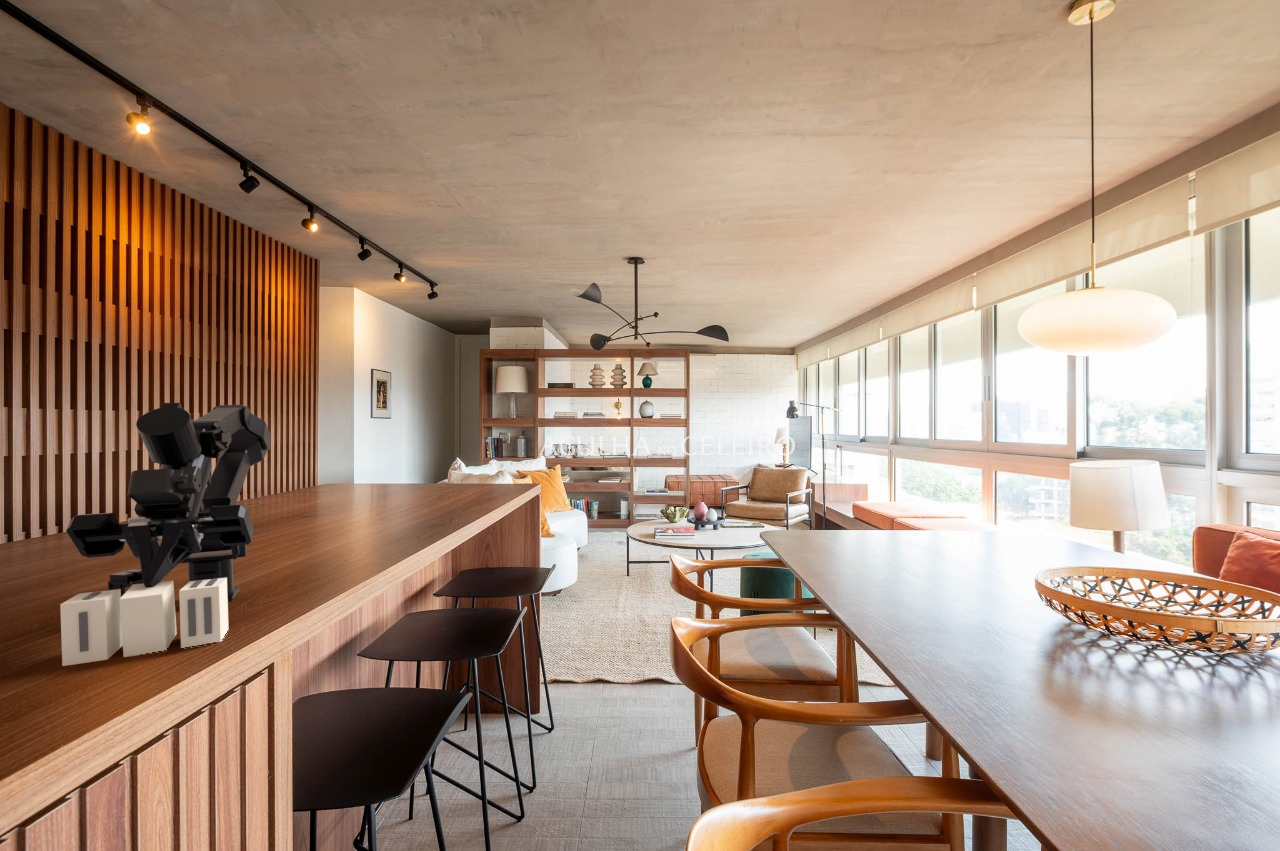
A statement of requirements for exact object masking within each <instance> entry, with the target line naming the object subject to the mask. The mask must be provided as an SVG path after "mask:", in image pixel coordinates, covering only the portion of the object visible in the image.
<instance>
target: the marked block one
mask: <svg viewBox="0 0 1280 851" xmlns="http://www.w3.org/2000/svg"><path fill="white" fill-rule="evenodd" d="M120 598H121V589H117V590H108V589H107V590H99V591H90V592H82V593H77V594H75V595H73V596H71V598H69V599H67V600H66V601H64V602H62V603H61V604H60V605H59V606H60V630H61V631H60V634H61V635H60V636H61V666H62V667H65V666H73V665H78V664H87V663H91V662H93V663H94V662H99V661H106V660H109V659H110V658H111V657H112V656H113V655H114V654H115V653H116V652H118V650H120V649H121V648H123V640H122V627H121V614H120V600H119V599H120Z"/></svg>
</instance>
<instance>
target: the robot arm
mask: <svg viewBox="0 0 1280 851" xmlns="http://www.w3.org/2000/svg"><path fill="white" fill-rule="evenodd" d="M135 424H136V425H135V426H136V429H137V430H138V433H139V435H140V437H141V439H142V442H143V445H144V447H145V448H146V451H147V453H148V455H149V458H150V459H151V461H152V463H154V464H159V465H160V468H158V469H157V468H156V469H155V468H154V469H137V470H132V471H131V474H130V478H129V484H128V489H127V495H126V496H127V498H129V499H132V500H133V501H134V502H135V503H136V504H135V506H134V508H133V509H134V513H135V514H136V516H138V517H135V516H134V517H129V518H128V519H127V522H128V523H120V522H119V521H118V519H117V517H116V514H115V513H114V512H103V513H87V514H84V513H82V514H77V515H74V516H73V517H72V518H71V519H70V521H69V524H68V525H67V528H66V529H65V532H66V533H67V535H68V536H69V538H70V539H71V541H72V542H73V544H74V545H75V548H76V549H77V551H78V552H79V553H80V555H81V556H82V557H85V558H90V559H91V558H101V557H102V558H103V557H113V556H115V555H117V554H118V553H121V552H122V551H123V550H124V547H125V544H127V545H128V547H129V550H130V552H131V553H132V554H133V556H134V557H135V558H138V559H139V563H140V570H141V571H142V578H143V584H144V586H145V587H146V588H147V587H154V586H155V585H156V584H157V583H158V582H162V580H164V578H165V577H166V576H167V575H168V574H169V573H170V572H172V571H173V570H174V569H175V568H176V567H177V566H179V564H187V578H188V580H187V581H188V582H187V583H189V582H190V581H199V580H208V579H218V578H227V596H228V601H232V600H234V598H236V596H237V594H238V593H239V592H240V587H234V571H233V570H234V569H233V568H234V567H233V564H234V563H233V560H238V559H239V558H244V557H247V555H248V554H247V553H248V552H247V545H249V544H250V543H252V541H253V538H254V537H253V536H254V525H253V521H252V519H251V515H250V512H249V508H248V507H247V506H246V505H244V504H237V502H238V499H239V496H240V493H241V491H242V488H243V485H244V484H245V480H246V478H247V475H248V472H249V470H250V467H252V466H254V465H257V464H258V463H260V462H262V461H263V460H264V459H265V457H266V455H267V453H268V451H269V450H271V447H272V436H271V432H270V431H269V427H268V425H267V423H266V421H264V420H263V419H262V418H260V417H258V416H256V415H255V414H253V413H251V410H250V408H249V406H248V405H244V404H219V405H218V406H213V408H212V410H211V411H209V412H207V413H206V414H204V415H202V416H200V417H198V418H197V419H192V417H191V416H190V413H189V412H188V411H187V410H185V409H183V407H182V404H181V402H162V404H161V407H158V408H155V409H152V410H150V411H147V412H146V413H145V414H143V415H141V416H139V417H138V419H137V420H136V423H135ZM210 459H218V461H217V462H216V465H215V467H214V469H213V471H212V466H213V465H212V462H211V461H210ZM211 471H212V473H211ZM210 473H211V474H210ZM139 516H140V517H139ZM160 539H161V542H160V544H159V542H158V541H160Z"/></svg>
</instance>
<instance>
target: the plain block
mask: <svg viewBox="0 0 1280 851" xmlns="http://www.w3.org/2000/svg"><path fill="white" fill-rule="evenodd" d="M125 592H126V591H125ZM119 600H120V614H121V627H122V651H123V652H122V654H123V658H127V657H134V656H140V655H141V654H142V655H147V654H146V653H149V654H153V653H152V652H156V653H159V652H158V651H162V652H165V651H164V650H166V651H167V650H168V649H169V647H170V645H171V643H172V642H173V640H174V639H175V637H176V636H177V621H176V620H177V618H176V605H175V604H176V602H175V587H174V579H171V580H163V581H162V580H161V581H159V582H158V583H157V584H156V585H155V586H154V587H147V588H146V587H145V586H144V584H134V585H130V586H129V588H128V590H127V592H126V593H125V594H124V595H123V596H122V597H121V598H120V599H119ZM167 648H168V649H167Z"/></svg>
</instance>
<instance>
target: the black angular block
mask: <svg viewBox="0 0 1280 851" xmlns="http://www.w3.org/2000/svg"><path fill="white" fill-rule="evenodd" d="M134 584H143V578H142V571H141V569H140V568H139V569H135V568H134V569H128V570H124V571H121V572H116V573H111V574H109V580H108V581H107V591H108V590H117V589H121V597H122V596H123V595H124V594H125V593H126V592H127V591H128V590H127V591H126V588H128V587H129V588H130V587H131V586H132V585H134Z"/></svg>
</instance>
